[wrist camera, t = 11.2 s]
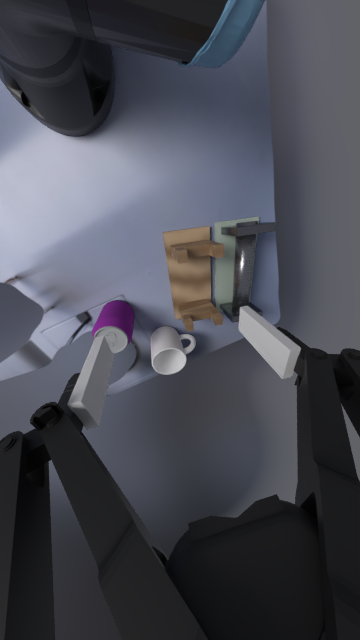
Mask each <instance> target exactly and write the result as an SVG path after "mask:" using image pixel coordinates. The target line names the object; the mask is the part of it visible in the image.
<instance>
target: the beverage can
mask: <svg viewBox="0 0 360 640" xmlns="http://www.w3.org/2000/svg"><path fill="white" fill-rule="evenodd" d="M133 324H134V311H133V309H132V307H131V306H130V305H129V304H127V303H126V302H123V301H119V300H116V301H111V302H109V303H107V304H106V305H105V306H104V307H103V309H102V311H101V313H100V315H99V317H98V319H97V321H96V323H95V326H94V328H93V330H92V336H93V340H95V337H99V336H105V338H106V341H107V343H108V345H109V347H110V349H111V352H112V354H113V353H118V352H120V351H122V350H123V349H125V347H126V346H127V345H128V344H129V343H130V341H131V339H132V334H133Z"/></svg>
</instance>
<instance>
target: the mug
mask: <svg viewBox="0 0 360 640" xmlns="http://www.w3.org/2000/svg"><path fill="white" fill-rule="evenodd" d="M182 339H189V340H190V341H191V344H190V345H189V346H188V347H186V348H183V346H182V343H181V340H182ZM195 345H196V340H195V338H194V337H193V336H192V335H190V334H182V335H179V334H178V332H177V331H176V330H175V329H174V328H172V327H169V326H163V327H159V328H157V329H156V330H155V331H154V332H153V333H152V335H151V357H152V366H153V368H154V370H155V371H157V372H158V373H161V374H173V373H176V372H178V371H180V370H181V369H182V368H183V367H184V365H185V364H186V354H188V353H190V352H191V351H192V350H193V349H194V348H195Z"/></svg>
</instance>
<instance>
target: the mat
mask: <svg viewBox="0 0 360 640" xmlns="http://www.w3.org/2000/svg"><path fill="white" fill-rule="evenodd" d="M249 221H258V223H259V217H253V218H245V219H238V220H230V221H223V222H216V223H215V242H217V243H221V244H224V257H219V258H215V308H216V309H217V310H218V311H219V312H222V310H221V309H220V304H224V303H230V302H232V296H233V277H234V258H235V240H236V236H230V235H222V234H221V227H227V226H234V225H236V223H240V222H249ZM256 241H257V234H256ZM255 250H256V243H255ZM254 259H255V252H254ZM253 268H254V261H253ZM252 277H253V270H252ZM251 286H252V279H251ZM250 295H251V288H250ZM249 302H250V298H249Z"/></svg>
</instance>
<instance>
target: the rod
mask: <svg viewBox="0 0 360 640" xmlns="http://www.w3.org/2000/svg"><path fill="white" fill-rule="evenodd" d="M276 225H277V223H276V222H271V223H258V221H249V222H240V223H236V225H234V226H227V227H221V234H222V235H230V236H236V240H235V258H234V277H233V296H232V302H230V303H224V304H220V309H221V310H222V311H223V313H224V314H225V315H226V316H227V317H228V318H229V319H230V320H231V321H232V322H237V321H239V315H240V307H243V306H249V307H250V308H251V309H252V310H254V311H255V312H256V313H257V314H259V315H260V316H261V317H262V312H263V311H261V310H260V309H259V308H257V307H256V306H254V305H253V304H252V303H250V302H249V298H250V288H251V279H252V270H253V261H254V252H255V243H256V234H258V233H265V232H272V231H276Z"/></svg>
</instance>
